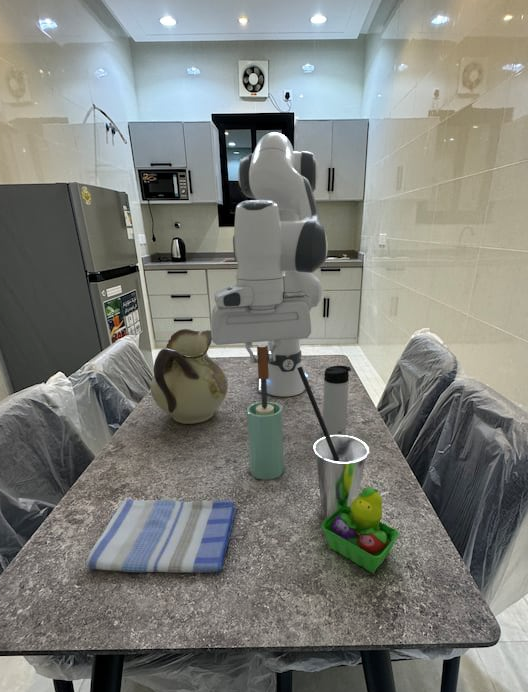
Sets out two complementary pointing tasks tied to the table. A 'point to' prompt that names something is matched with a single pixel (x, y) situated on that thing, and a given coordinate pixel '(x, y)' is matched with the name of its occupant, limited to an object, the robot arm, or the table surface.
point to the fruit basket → (361, 531)
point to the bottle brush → (263, 380)
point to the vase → (265, 442)
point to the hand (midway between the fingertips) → (262, 361)
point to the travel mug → (335, 399)
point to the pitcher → (188, 378)
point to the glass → (336, 463)
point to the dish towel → (165, 537)
